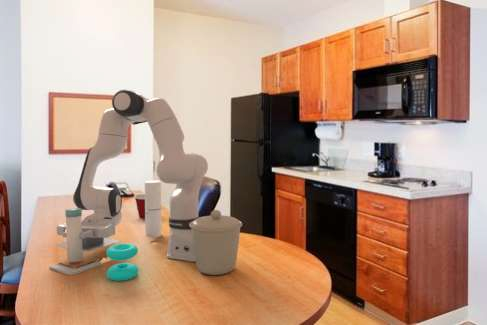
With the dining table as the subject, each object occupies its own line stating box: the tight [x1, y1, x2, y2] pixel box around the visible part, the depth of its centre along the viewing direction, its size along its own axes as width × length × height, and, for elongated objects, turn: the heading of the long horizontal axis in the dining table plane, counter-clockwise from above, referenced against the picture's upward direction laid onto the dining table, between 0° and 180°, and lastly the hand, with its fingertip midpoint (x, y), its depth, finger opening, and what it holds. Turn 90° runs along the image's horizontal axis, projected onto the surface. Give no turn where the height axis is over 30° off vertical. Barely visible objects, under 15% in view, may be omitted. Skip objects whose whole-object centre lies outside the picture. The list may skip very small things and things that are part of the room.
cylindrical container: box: [144, 180, 162, 238], centre depth 169 cm, size 7×7×25 cm
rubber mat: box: [48, 260, 102, 276], centre depth 131 cm, size 12×12×1 cm
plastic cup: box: [134, 193, 145, 219], centre depth 206 cm, size 11×11×12 cm
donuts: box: [105, 243, 139, 282], centre depth 122 cm, size 10×10×10 cm
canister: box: [190, 209, 243, 276], centre depth 128 cm, size 18×18×21 cm
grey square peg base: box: [56, 237, 121, 254], centre depth 153 cm, size 18×18×6 cm
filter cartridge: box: [64, 207, 84, 263], centre depth 130 cm, size 5×5×18 cm
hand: (72, 235), depth 129 cm, fingers closed on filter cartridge, 5 cm apart
